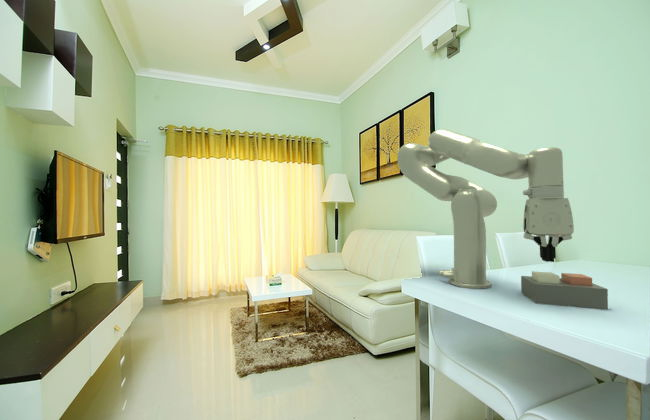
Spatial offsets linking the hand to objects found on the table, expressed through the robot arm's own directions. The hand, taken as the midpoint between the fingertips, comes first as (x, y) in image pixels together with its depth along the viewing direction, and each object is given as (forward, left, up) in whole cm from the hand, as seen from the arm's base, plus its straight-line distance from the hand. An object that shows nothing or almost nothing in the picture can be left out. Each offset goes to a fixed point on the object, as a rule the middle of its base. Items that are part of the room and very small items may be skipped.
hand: (547, 260), depth 76 cm
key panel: (+3, 0, -11) cm, 11 cm away
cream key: (0, 0, -7) cm, 7 cm away
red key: (+7, 0, -7) cm, 9 cm away
